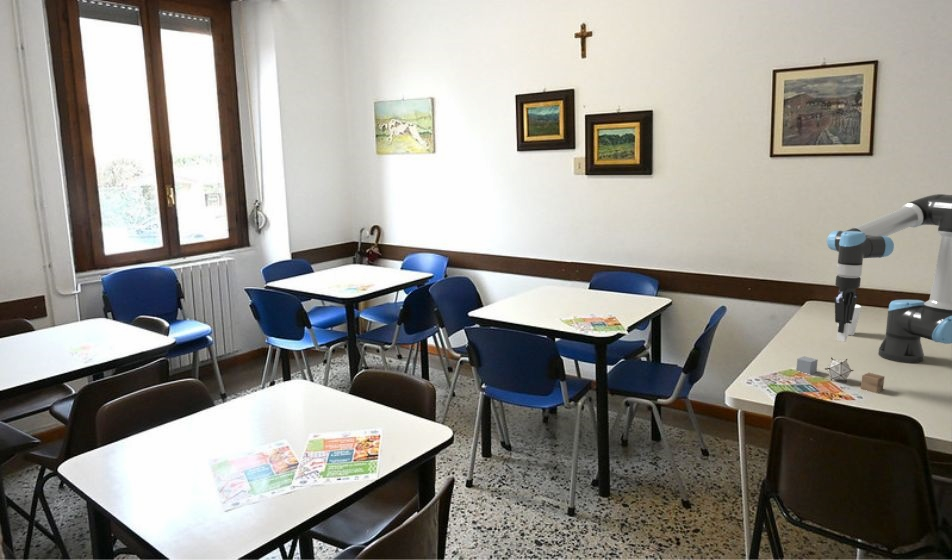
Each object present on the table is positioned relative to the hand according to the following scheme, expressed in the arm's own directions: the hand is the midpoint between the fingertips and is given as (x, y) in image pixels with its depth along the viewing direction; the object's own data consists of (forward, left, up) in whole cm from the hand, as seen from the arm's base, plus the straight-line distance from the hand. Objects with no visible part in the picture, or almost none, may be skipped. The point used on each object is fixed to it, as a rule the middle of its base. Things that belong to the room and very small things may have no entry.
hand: (841, 340), depth 233 cm
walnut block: (0, +12, -15) cm, 19 cm away
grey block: (0, -11, -15) cm, 19 cm away
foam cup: (-63, -27, -15) cm, 70 cm away
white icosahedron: (0, 0, -15) cm, 15 cm away
